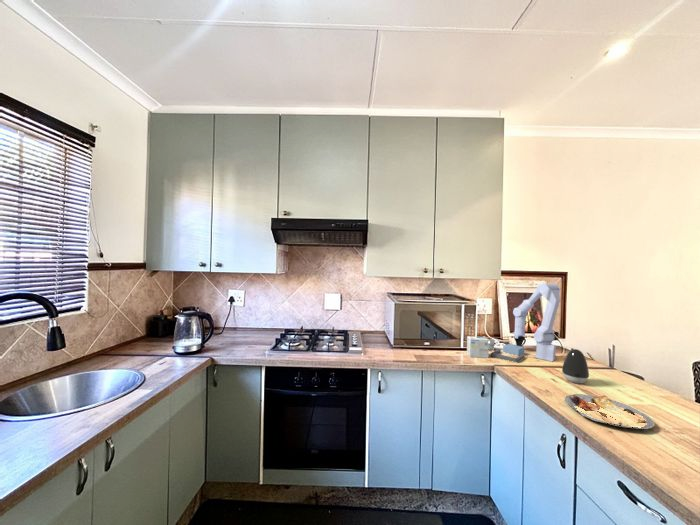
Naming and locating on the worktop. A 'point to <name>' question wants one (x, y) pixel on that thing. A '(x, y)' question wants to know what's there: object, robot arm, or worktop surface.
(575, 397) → the food plate
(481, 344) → the light bulb box
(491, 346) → the grey metal canister
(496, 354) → the display bay
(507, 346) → the carton
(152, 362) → the worktop surface
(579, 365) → the dark grey rounded dome
